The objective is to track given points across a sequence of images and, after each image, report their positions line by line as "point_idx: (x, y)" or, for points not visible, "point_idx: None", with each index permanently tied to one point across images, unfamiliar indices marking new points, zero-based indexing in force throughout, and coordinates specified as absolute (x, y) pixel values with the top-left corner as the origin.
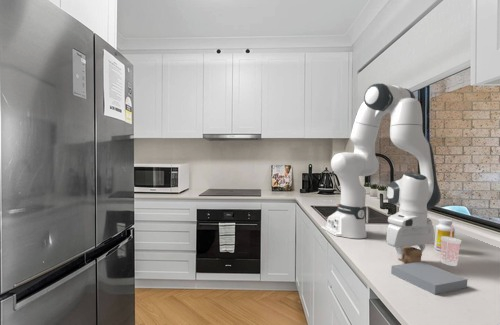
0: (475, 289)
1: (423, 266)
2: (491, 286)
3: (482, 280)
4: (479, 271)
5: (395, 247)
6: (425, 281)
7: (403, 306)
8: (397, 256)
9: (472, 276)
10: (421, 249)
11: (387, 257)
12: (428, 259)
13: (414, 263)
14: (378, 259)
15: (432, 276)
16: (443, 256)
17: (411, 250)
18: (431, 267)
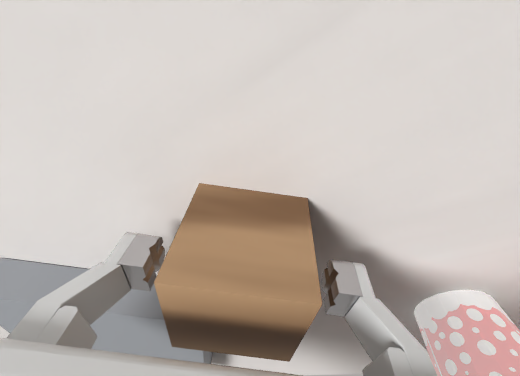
0: (226, 363)
1: (147, 338)
2: (295, 372)
3: (325, 364)
4: (429, 356)
5: (33, 308)
6: None
7: None
8: (124, 236)
9: (337, 354)
10: (361, 336)
11: (147, 110)
12: (437, 254)
13: (130, 319)
14: (15, 109)
15: None
16: (442, 342)
17: (187, 343)
18: (176, 349)
